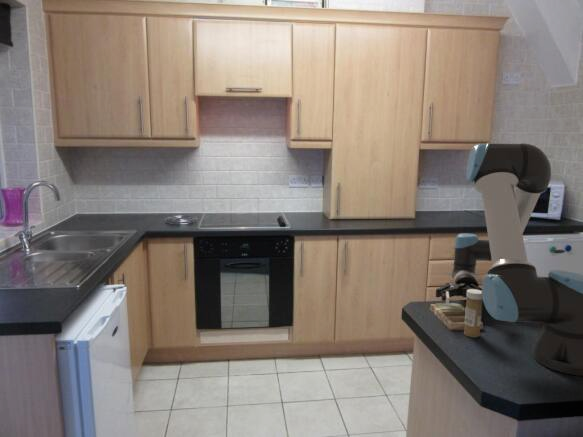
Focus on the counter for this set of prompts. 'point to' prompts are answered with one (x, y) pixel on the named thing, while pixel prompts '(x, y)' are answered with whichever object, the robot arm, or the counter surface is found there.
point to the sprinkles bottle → (473, 313)
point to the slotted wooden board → (451, 315)
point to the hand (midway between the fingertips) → (471, 304)
